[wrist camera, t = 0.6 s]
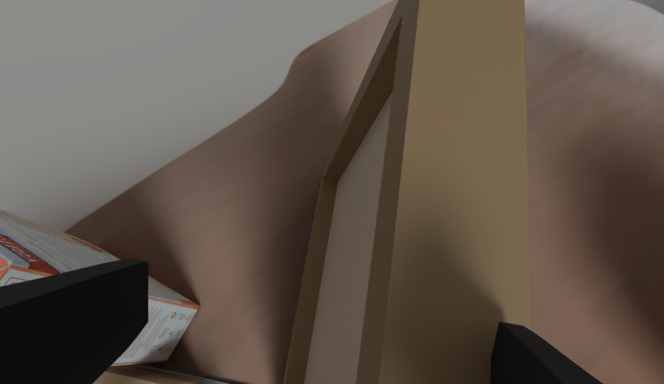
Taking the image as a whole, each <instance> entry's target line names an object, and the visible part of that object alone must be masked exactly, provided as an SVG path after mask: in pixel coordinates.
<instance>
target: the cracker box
mask: <svg viewBox="0 0 664 384" xmlns="http://www.w3.org/2000/svg"><path fill="white" fill-rule="evenodd" d="M117 260H121V259H119V258H117V257H116V256H114V255H112V254H110V253H109V252H107V251H105V250H104V249H102V248H100V247H98V246H96V245H95V244H92V243H90V242H87V241H85V240H82V239H79V238H76V237H74V236H71V235H68V234H66V233H63V232H60V231H58V230H55V229H52V228H50V227H47V226H44V225H42V224H39V223H36V222H33V221H30V220H28V219H25V218H22V217H20V216H17V215H15V214H12V213H9V212H7V211H4V210H1V209H0V286H6V285H10V284H15V283H20V282H24V281H29V280H33V279H38V278H42V277H47V276H51V275H56V274H60V273H64V272H68V271H72V270H76V269H81V268H85V267H89V266H93V265H98V264H102V263H107V262H112V261H117ZM199 308H200V306H199V305H198V304H196V303H194V302H193V301H191V300H189V299H188V298H186V297H184V296H182V295H181V294H179V293H177V292H176V291H174V290H172V289H171V288H169V287H167V286H165V285H164V284H162V283H160V282H159V281H157V280H155V279H153V278H152V277H150V276H148V323H147V325H146V326H145V327H144V329H143V330H142V331H141V333H140V334H139V335H138V337H137V338H136V339H135V340H134V342H133V343H132V344H131V345H130V346H129V348H128V349H127V350H126V351H125V352H124V353H123V354H122V355H121V356H120V357H119V358H118V359H117V360H116V361H115V362H114V363H113V364H112V365H111V366H119V365H132V364H146V363H161V362H167V361H168V359H169V357H170V356H171V354H172V352H173V351H174V349H175V348H176V346H177V344H178V343H179V341H180V339H181V338H182V336H183V334H184V333H185V331H186V329H187V328H188V326H189V324H190V323H191V321H192V320H193V318H194V316H195V315H196V313H197V311H198V310H199Z"/></svg>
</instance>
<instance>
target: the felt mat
mask: <svg viewBox="0 0 664 384" xmlns="http://www.w3.org/2000/svg"><path fill="white" fill-rule="evenodd" d="M132 365H134V366H139V367H143V368H148V369H152V370H157V371H161V372H166V373H170V374H175V375H179V376H184V377H189V378H193V379H198V380H202V382H201V384H231V383H226V382H222V381H217V380H212V379H208V378H203V377H199V376H194V375H190V374H185V373H180V372H176V371H171V370H167V369H162V368H158V367H153V366H149V365H144V364H132Z"/></svg>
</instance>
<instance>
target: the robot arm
mask: <svg viewBox="0 0 664 384" xmlns="http://www.w3.org/2000/svg"><path fill="white" fill-rule="evenodd" d="M147 323H148V262H145V261H140V260H134V259H124V260H117V261H112V262H107V263H102V264H98V265H93V266H89V267H85V268H81V269H76V270H72V271H68V272H64V273H60V274H56V275H51V276H47V277H42V278H38V279H33V280H29V281H24V282H20V283H15V284H10V285H6V286H0V384H93V383H94V382H95V381H96V380H97V379H98V378H99V377H100V376H101V375H102V374H103V373H104V372H105V371H106V370H107V369H108V368H109V367H110V366H111V365H112V364H113V363H114V362H115V361H116V360H117V359H118V358H119V357H120V356H121V355H122V354H123V353H124V352H125V351H126V350H127V349H128V348H129V346H130V345H131V344H132V343H133V342H134V340H135V339H136V338H137V337H138V335H139V334H140V333H141V331H142V330H143V329H144V327H145V326H146V325H147ZM490 384H603V383H601V382H600V381H598V380H597V379H596V378H594V377H593V376H591V375H590V374H589V373H587V372H586V371H585V370H583V369H582V368H581V367H579V366H578V365H577V364H575V363H574V362H573V361H571V360H570V359H569V358H567V357H566V356H565V355H563V354H562V353H561V352H559V351H558V350H557V349H555V348H554V347H553V346H552V345H550V344H549V343H548V342H546V341H545V340H544V339H542V338H541V337H539V336H538V335H537V334H535V333H534V332H532V331H531V330H529V329H528V328H526V327H524V326H523V325H517V324H511V323H505V322H499V325H498V329H497V334H496V338H495V342H494V347H493V351H492V355H491V382H490Z"/></svg>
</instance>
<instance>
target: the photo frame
mask: <svg viewBox="0 0 664 384" xmlns="http://www.w3.org/2000/svg"><path fill="white" fill-rule="evenodd" d="M499 322H505V323H511V324H517V325H523V326H524V327H526V328H528V329H529V330H531V331H532V318H531V274H530V230H529V186H528V142H527V98H526V54H525V10H524V0H399V1H398V3H397V5H396V7H395V9H394V12H393V14H392V16H391V18H390V21H389V23H388V25H387V27H386V29H385V32H384V34H383V36H382V38H381V41H380V43H379V45H378V47H377V49H376V52H375V54H374V56H373V58H372V61H371V63H370V65H369V67H368V69H367V72H366V74H365V76H364V78H363V81H362V83H361V85H360V87H359V89H358V92H357V94H356V96H355V98H354V101H353V103H352V105H351V107H350V109H349V112H348V114H347V116H346V118H345V121H344V123H343V125H342V127H341V129H340V132H339V134H338V136H337V138H336V141H335V143H334V145H333V147H332V149H331V152H330V154H329V156H328V158H327V161H326V163H325V165H324V167H323V171H322V176H321V181H320V187H319V192H318V197H317V203H316V208H315V213H314V219H313V224H312V229H311V235H310V240H309V245H308V251H307V256H306V261H305V267H304V272H303V277H302V283H301V288H300V293H299V298H298V304H297V309H296V314H295V320H294V325H293V330H292V336H291V341H290V346H289V352H288V357H287V362H286V368H285V373H284V378H283V384H490V382H491V355H492V351H493V347H494V342H495V338H496V334H497V329H498V325H499Z"/></svg>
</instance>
